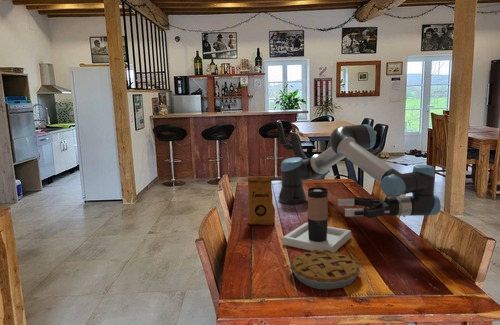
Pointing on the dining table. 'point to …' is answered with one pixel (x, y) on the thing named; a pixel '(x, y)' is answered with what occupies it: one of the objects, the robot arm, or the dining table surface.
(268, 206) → the coffee package
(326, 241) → the tray
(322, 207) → the travel mug
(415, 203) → the robot arm
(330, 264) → the pie
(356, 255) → the dining table surface
